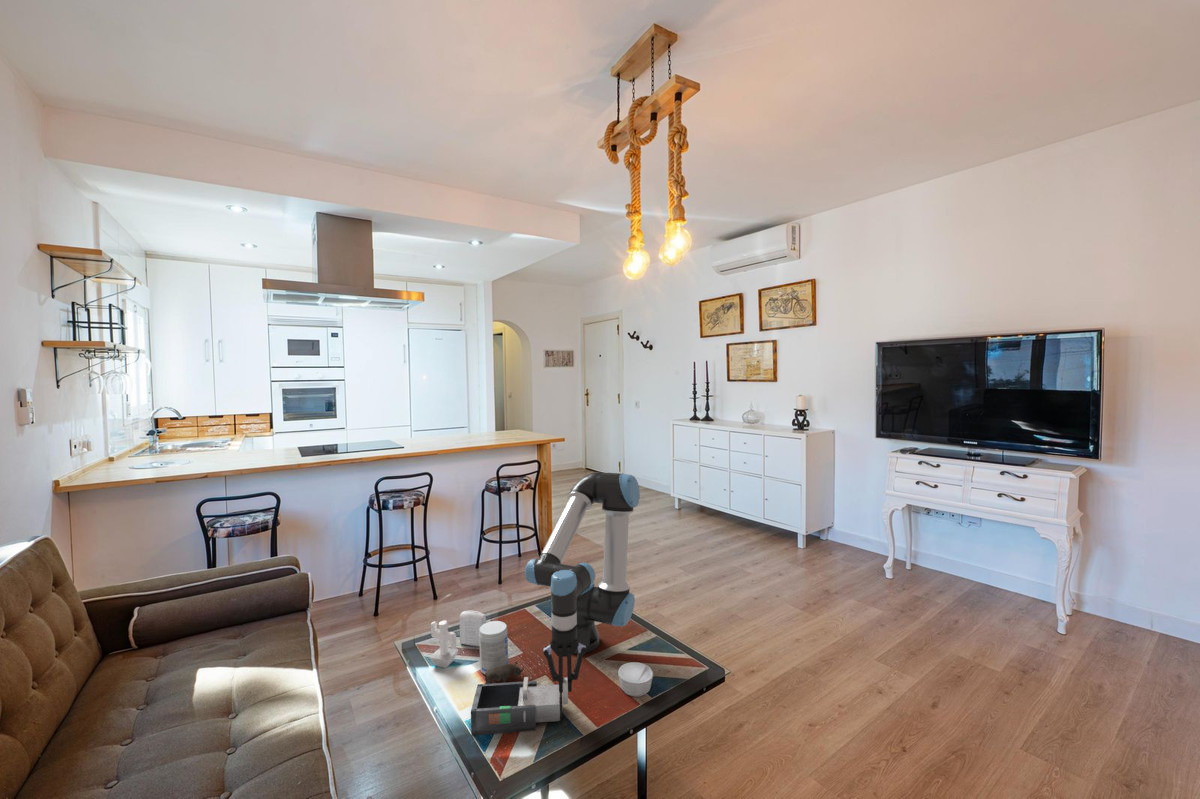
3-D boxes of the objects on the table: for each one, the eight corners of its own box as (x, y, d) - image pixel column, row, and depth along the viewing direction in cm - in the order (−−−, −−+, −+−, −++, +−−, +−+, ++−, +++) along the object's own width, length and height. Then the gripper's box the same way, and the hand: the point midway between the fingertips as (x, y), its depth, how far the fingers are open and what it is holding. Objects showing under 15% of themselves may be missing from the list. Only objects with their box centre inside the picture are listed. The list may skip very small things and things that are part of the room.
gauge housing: (537, 702, 152) (536, 680, 152) (535, 731, 140) (534, 707, 140) (478, 706, 151) (477, 683, 150) (471, 736, 138) (470, 711, 138)
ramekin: (657, 697, 154) (657, 680, 154) (622, 701, 152) (622, 685, 152) (647, 675, 165) (647, 660, 165) (615, 679, 163) (615, 663, 163)
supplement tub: (512, 670, 168) (511, 629, 167) (486, 680, 163) (485, 637, 162) (501, 657, 176) (500, 617, 176) (476, 666, 171) (475, 625, 170)
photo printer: (488, 641, 187) (487, 610, 186) (482, 648, 182) (482, 615, 182) (464, 638, 189) (463, 607, 188) (458, 644, 185) (457, 612, 184)
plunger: (562, 699, 151) (561, 671, 151) (562, 720, 142) (562, 690, 142) (520, 702, 150) (519, 674, 150) (518, 723, 141) (517, 693, 141)
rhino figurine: (526, 679, 164) (526, 662, 163) (485, 692, 157) (484, 674, 157) (522, 673, 167) (522, 656, 167) (482, 685, 161) (481, 667, 161)
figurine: (450, 671, 168) (448, 629, 168) (426, 667, 171) (425, 625, 170) (461, 659, 175) (460, 618, 174) (439, 655, 178) (437, 615, 177)
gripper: (585, 617, 150) (586, 691, 151) (542, 619, 148) (543, 694, 150) (587, 630, 142) (588, 708, 144) (541, 632, 141) (543, 711, 142)
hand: (565, 701), depth 147 cm, fingers closed
